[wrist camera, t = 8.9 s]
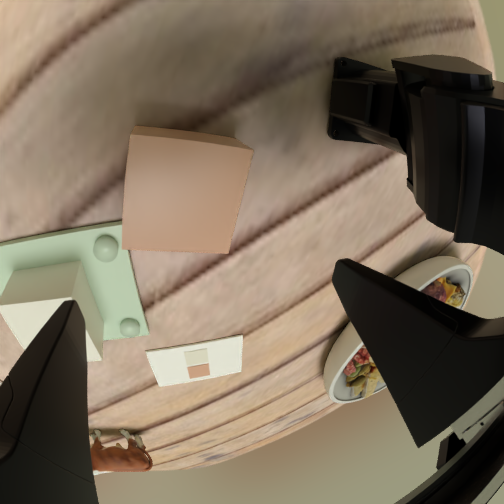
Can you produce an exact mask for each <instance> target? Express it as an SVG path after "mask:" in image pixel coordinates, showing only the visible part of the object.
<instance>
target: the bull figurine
mask: <svg viewBox="0 0 504 504" xmlns="http://www.w3.org/2000/svg"><path fill="white" fill-rule="evenodd" d="M119 431H120V432H121V433H122V434H123V435H124V436H125V437H126V439H127V441H128V449H124V448H123V447H122V446H121V445H120V444H119V443H116V446H112V447H104V446H102V445H101V441H100V436H101V431H99V430H98V429H94V432H95V433H96V436H95V434H90V436H91V437H92V438H93V440H94V444H92V445H91V446H90V451H91V460H92V468H93V475H97V474H100V473H108V472H130V471H131V472H139V471H140V472H141V471H142V472H145V471H149V470H150V469H151V468H152V465H153V463H152V459H151V457H150V455H149V454H148V453H147V452H146V451H145V448H146V447H145V446H144V444H143V442H142V438H141V437H139V436H138V434H134V437H135V440H133V439H132V438H131V436H130V434H129V432H128V431H125V430H124V429H120V430H119ZM136 445H137V447H136ZM144 453H145V454H146V455H147V456H148V458H149V460H148V458H147V457H146V455H145V454H144Z"/></svg>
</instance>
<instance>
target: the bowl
mask: <svg viewBox="0 0 504 504" xmlns="http://www.w3.org/2000/svg"><path fill="white" fill-rule="evenodd" d="M394 279H395V280H397V281H400V282H402V283H404V284H406V285H408V286H410V287H412V288H415V289H417V290H419V291H421V292H423V293H425V294H427V295H430V296H432V297H434V298H436V299H438V300H440V301H442V302H444V303H447V304H449V305H451V306H454V307H456V308H459V309H461V310H462V309H463V307H464V305H465V303H466V301H467V299H468V296H469V294H470V291H471V287H472V282H473V272H472V269H471V268H470V266H468V265H467V264H466V263H465V262H464V261H462V260H460V259H458V258H455V257H451V256H438V257H434V258H430V259H427V260H425V261H422V262H420V263H418V264H416V265H414V266H412V267H411V268H409V269H407V270H406V271H404V272H403V273H401V274H400V275H398V276H397V277H396V278H394ZM323 380H324V386H325V390H326V392H327V394H328V396H329V398H330V399H331V400H332V401H333V402H336V403H350V402H354V401H358V400H360V399H363V398H367V397H368V396H371V395H373V394H375V393H377V392H378V391H381V390H382V389H384V388H386V387H387V386H386V384H385V382H384V380H383V378H382V376H381V375H380V373H379V371H378V369H377V367H376V365H375V364H374V362H373V360H372V358H371V356H370V355H369V353H368V351H367V349H366V347H365V346H364V344H363V342H362V340H361V339H360V337H359V335H358V333H357V332H356V330H355V328H354V326H353V325H352V323H351V321H350V322H349V323H348V325H347V326H346V327H345V329H344V330H343V331H342V333H341V334H340V336H339V337H338V339H337V340H336V342H335V344H334V345H333V347H332V349H331V351H330V353H329V355H328V358H327V361H326V364H325V368H324V375H323Z"/></svg>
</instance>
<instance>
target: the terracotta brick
mask: <svg viewBox="0 0 504 504" xmlns="http://www.w3.org/2000/svg"><path fill="white" fill-rule="evenodd" d="M253 152H254V150H253V149H251V148H249V147H248V146H246V145H245V144H243V143H242V142H240V141H239V140H237V139H236V138H231V137H225V136H219V135H213V134H206V133H199V132H192V131H184V130H176V129H167V128H157V127H146V126H135V127H134V129H133V131H132V133H131V135H130V141H129V149H128V157H127V165H126V175H125V187H124V200H123V218H122V250H147V251H172V252H198V253H224V254H228V253H229V249H230V244H231V240H232V236H233V232H234V228H235V224H236V220H237V216H238V211H239V207H240V203H241V199H242V195H243V191H244V187H245V184H246V180H247V176H248V172H249V168H250V164H251V160H252V156H253Z"/></svg>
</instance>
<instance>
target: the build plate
mask: <svg viewBox="0 0 504 504" xmlns="http://www.w3.org/2000/svg"><path fill="white" fill-rule="evenodd" d="M80 260H81V262H82V265H83V268H84V271H85V274H86V277H87V280H88V283H89V286H90V288H91V291H92V294H93V296H94V299H95V302H96V304H97V307H98V309H99V312H100V314H101V317H102V319H103V321H104V334H103V340H112V339H120V338H133V337H136V336H144V335H149V328H148V325H147V321H146V318H145V314H144V311H143V307H142V303H141V300H140V296H139V292H138V288H137V284H136V280H135V276H134V271H133V267H132V262H131V258H130V253H129V250H122V221H118V222H111V223H105V224H98V225H92V226H86V227H80V228H74V229H69V230H63V231H57V232H52V233H47V234H41V235H36V236H31V237H26V238H21V239H16V240H12V241H7V242H2V243H0V297H1V295H2V293H3V291H4V289H5V286H6V284H7V282H8V280H9V278H10V276H11V274H12V272H13V271H18V270H24V269H30V268H36V267H42V266H48V265H54V264H61V263H67V262H73V261H80Z"/></svg>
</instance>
